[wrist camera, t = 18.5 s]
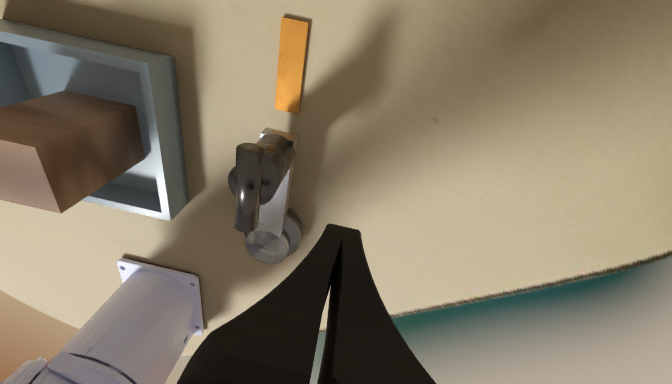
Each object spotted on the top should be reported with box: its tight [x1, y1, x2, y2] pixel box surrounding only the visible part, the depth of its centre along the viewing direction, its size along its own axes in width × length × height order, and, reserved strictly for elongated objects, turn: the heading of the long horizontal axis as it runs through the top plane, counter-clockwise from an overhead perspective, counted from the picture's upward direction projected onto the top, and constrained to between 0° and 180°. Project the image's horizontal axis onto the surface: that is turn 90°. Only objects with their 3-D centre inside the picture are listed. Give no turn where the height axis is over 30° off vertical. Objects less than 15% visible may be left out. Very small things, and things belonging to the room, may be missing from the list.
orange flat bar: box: [244, 17, 309, 256], centre depth 21 cm, size 17×4×1 cm, turn 170°
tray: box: [0, 19, 189, 221], centre depth 21 cm, size 11×11×2 cm
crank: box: [228, 128, 298, 264], centre depth 19 cm, size 12×3×6 cm, turn 169°
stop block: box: [0, 91, 145, 213], centre depth 19 cm, size 4×5×7 cm
